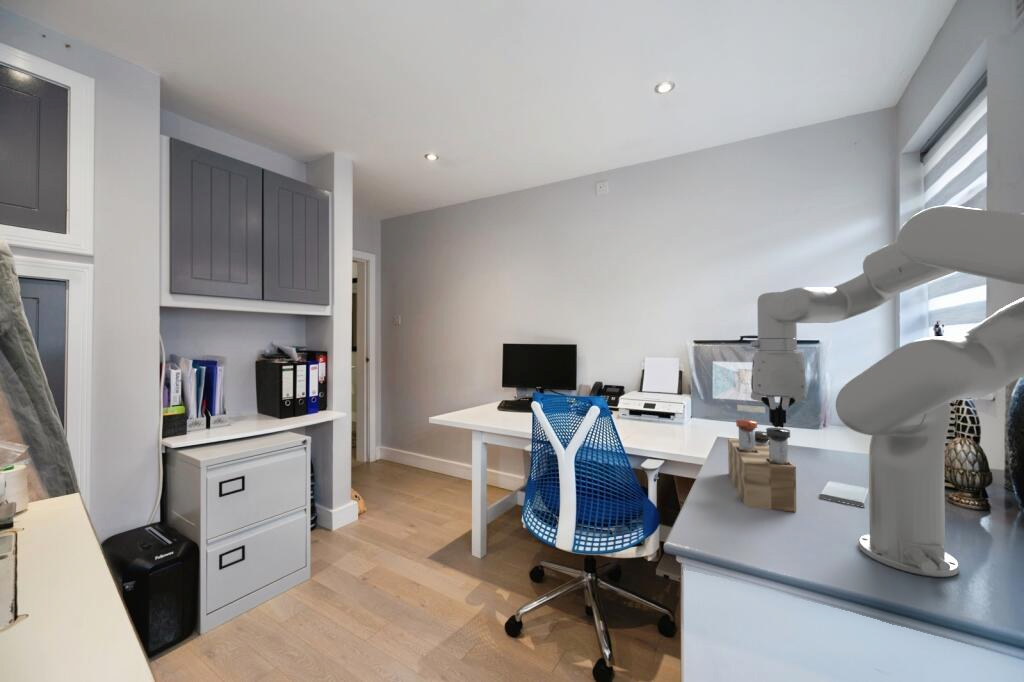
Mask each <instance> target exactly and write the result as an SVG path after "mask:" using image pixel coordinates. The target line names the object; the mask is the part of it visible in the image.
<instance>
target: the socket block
mask: <svg viewBox="0 0 1024 682" xmlns="http://www.w3.org/2000/svg"><path fill="white" fill-rule="evenodd" d="M727 446H728V448H727V449H728V452H727V454H728V457H727V459H728V462H727V463H728V475H729V477H730V479H731V481H732V483H733V485H734V487H735V489H736V491H737V493H738V495H739V496H740V499H741V501H742V503H743V505H744V507H745V506H746V508H755V509H766V510H774V511H775V510H776V511H785V512H792V511H793V512H795V513H797V470H796V469H797V467H796V465H795V464H793V462H791V460H789V459H788V465H778V464H770V463H769V440H768V445H757V444H755V453H750V452H739V438H728V439H727Z"/></svg>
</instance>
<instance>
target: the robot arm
mask: <svg viewBox="0 0 1024 682" xmlns="http://www.w3.org/2000/svg"><path fill="white" fill-rule="evenodd" d="M862 271H863V272H862V273H861V274H859V275H857V276H856V277H854V278H852V279H850V280H847V281H845V282H843V283H841V284H838V285H835V286H832V287H815V286H814V287H805V286H804V287H803V286H802V287H795V288H791V289H787V290H784V291H774V292H773V291H772V292H765V293H761V294H760V295H759V296H758V297H757V303H756V304H757V339H756V340H754V341H750V347H751V348H755V349H756V350H757V351H756V352H754V355H753V360H752V366H751V377H750V378H751V379H750V381H751V382H750V383H751V384H750V388H751V394H750V396H749V397H750V398H751V400H754V401H758V402H761V403H763V404H764V405H765V406H767V407H768V413H769V415H768V417H769V423H771V425H772V427H773V428H783V429H784V426H785V424H786V423H787V411H788V409H789V408H790V407H791V406H792V405H793V404H795V403H800V402H801V403H802V402H806V401H807V398H806V394H807V380H806V379H807V377H806V370H805V369H806V368H805V364H804V358H803V355H802V354H803V353H802V352H799V351H797V349H798V347H797V346H798V343H797V341H798V338H797V337H798V335H797V324H818V323H819V324H831V323H832V324H833V323H838V322H841V321H844V320H848V319H850V318H853V317H856V316H859V315H862V314H865V313H867V312H869V311H872V310H874V309H877V308H878V307H880V306H883V305H884V304H885V303H887V302H888V301H890V300H891V299H893V298H894V297H895V296H896V295H898V294H901V293H904V292H906V291H909V290H912V289H914V288H916V287H918V286H921V285H924V284H927V283H929V282H932V281H934V280H937V279H940V278H943V277H946V276H948V275H951V274H954V273H956V272H957V273H963V274H967V275H973V276H977V277H981V278H986V279H991V280H996V281H1001V282H1006V283H1011V284H1015V285H1017V284H1018V285H1024V213H1023V212H1022V213H1021V212H1010V211H999V210H990V209H989V210H988V209H981V208H972V207H965V206H958V205H948V204H947V205H937V206H933V207H928V208H926V209H923V210H921V211H920V212H917V213H916V214H914V215H913V216H911V217H910V218H908V219H907V221H906V222H904V223H903V225H902V226H901V227H900V229H899V231H898V233H897V235H896V240H895V241H894V242H892V243H891V242H890V243H889V244H886V245H884V246H883V247H880V248H878V249H876V250H874V251H872V252H870V253H868V255H866V256H865V257H864V260H863V262H862ZM1023 377H1024V297H1022V298H1019V299H1018V300H1016V301H1014V302H1012V303H1010V304H1008V305H1006V306H1004V307H1003V308H1000V309H999V310H997V311H996V312H994V313H993V314H991V315H990V316H989V317H988V318H985V319H984V320H982V321H981V322H979V323H977V324H975V325H974V326H972V327H971V328H969V329H967V330H964V331H962V332H960V333H959V334H955V335H954V334H953V335H949V336H932V337H924V338H920V339H916V340H913V341H911V342H908V343H906V344H904V345H902V346H900V347H898V348H896V349H895V350H893V351H892V352H890V353H888V354H887V355H886V356H884V357H883V358H882V359H880V360H878V361H876V363H874V364H872V365H871V366H869V367H868V368H866V369H865V370H864V371H862V372H861V373H859V374H858V375H857V376H855V377H853V378H852V379H851V380H850V381H848V382H847V383H846V384H844V386H843V387H842V388H841V389H840V390H839V392H838V394H837V397H836V400H835V410H836V415H837V416H838V418H839V420H840V421H841V422H842V423H843V425H845V426H846V427H847V428H849V429H850V430H852V431H854V432H856V433H859V434H862V435H867V436H871V437H870V443H869V449H868V489H869V493H868V496H869V497H868V502H869V503H868V504H869V505H868V507H869V513H868V514H869V521H868V522H869V534H864V535H862V536H860V537H859V538H858V548H859V549H860V550H861V551H862V552H863V553H864V554H865V555H867V556H868V557H869V558H871V559H873V560H874V561H877V562H879V563H880V564H884V565H886V566H889V567H892V568H894V569H897V570H900V571H904V572H907V573H911V574H915V575H921V576H928V577H935V578H939V577H940V578H945V577H948V578H949V577H953V576H955V575H957V574H959V572H960V567H959V565H960V564H959V562H958V560H956V558H954V557H953V556H952V555H951V554H950V553H947V552H946V529H945V528H946V525H945V524H946V521H945V520H946V512H945V511H946V510H945V501H946V500H945V461H946V460H945V455H946V454H945V453H946V451H945V450H946V442H947V436H948V431H949V426H950V424H951V423H950V422H951V416H952V415H951V412H952V410H951V409H952V407H951V403H950V402H951V401H956V400H957V401H958V400H966V399H974V398H975V399H976V398H982V397H984V396H988V395H990V394H993V393H995V392H997V391H999V390H1002V388H1004V387H1006V386H1007V385H1010V384H1011V383H1014V382H1015V381H1017V380H1019V379H1020V378H1021V379H1022V378H1023ZM775 397H776V398H777V397H779V402H778V405H777V406H776V404H777V403H776V399H775Z"/></svg>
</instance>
